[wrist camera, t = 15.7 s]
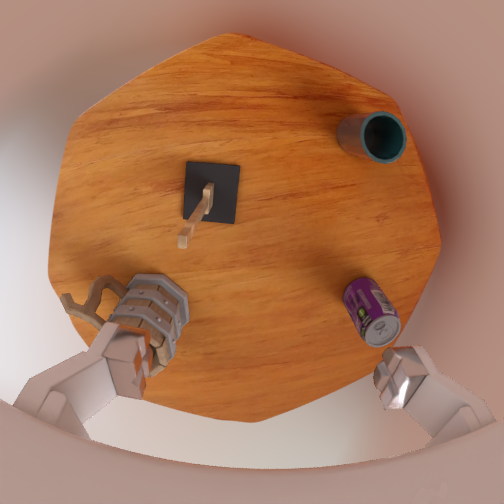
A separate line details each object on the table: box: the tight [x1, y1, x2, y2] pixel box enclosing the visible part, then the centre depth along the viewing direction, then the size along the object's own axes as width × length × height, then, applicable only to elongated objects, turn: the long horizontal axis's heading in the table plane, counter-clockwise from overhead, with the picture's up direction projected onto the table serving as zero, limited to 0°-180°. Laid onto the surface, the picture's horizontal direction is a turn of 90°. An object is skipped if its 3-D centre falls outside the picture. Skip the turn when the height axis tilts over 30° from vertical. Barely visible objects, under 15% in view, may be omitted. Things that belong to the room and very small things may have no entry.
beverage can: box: [343, 278, 401, 347], centre depth 45 cm, size 7×7×12 cm
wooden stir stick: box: [178, 183, 214, 249], centre depth 34 cm, size 3×1×20 cm, turn 173°
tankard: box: [60, 274, 190, 377], centre depth 43 cm, size 20×13×15 cm, turn 44°
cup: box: [337, 111, 407, 164], centre depth 35 cm, size 7×7×10 cm
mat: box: [183, 162, 240, 224], centre depth 43 cm, size 9×8×1 cm
